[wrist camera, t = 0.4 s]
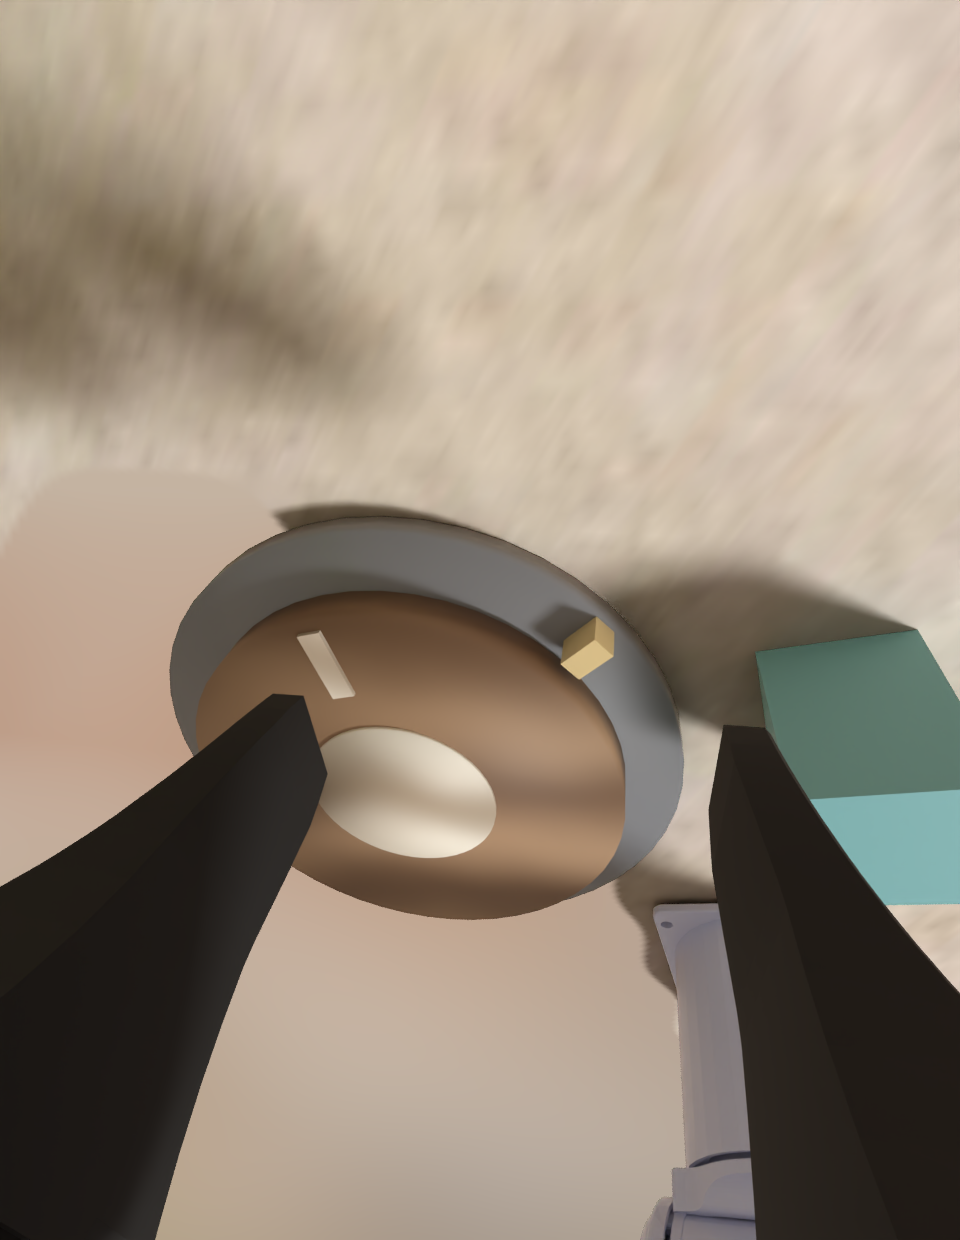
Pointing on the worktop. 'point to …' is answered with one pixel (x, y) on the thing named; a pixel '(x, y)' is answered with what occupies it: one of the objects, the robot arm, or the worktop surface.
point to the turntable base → (474, 580)
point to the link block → (874, 755)
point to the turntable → (435, 753)
